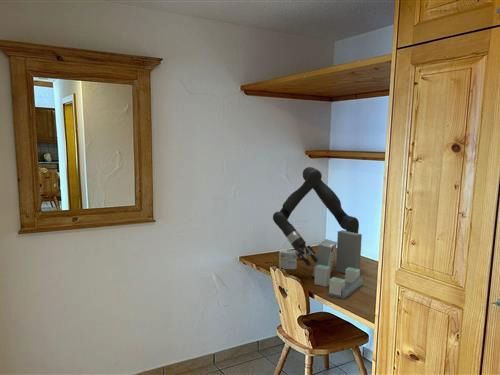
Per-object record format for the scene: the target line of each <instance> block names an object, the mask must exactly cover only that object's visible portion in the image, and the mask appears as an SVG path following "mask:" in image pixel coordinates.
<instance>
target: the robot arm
mask: <svg viewBox="0 0 500 375" xmlns="http://www.w3.org/2000/svg"><path fill="white" fill-rule="evenodd" d="M322 176H323V175H322V173H321V171H320V170H318V169H317V168H315V167H312V166H307V167H305V168H304V169H303V171H302V178H303V180H304V182H303V183H302V185H300V187H299V188H297V189H296V190H295V191H293V192H292V193H291V194H290V195H289V196H288V197H287V198H286V200H285V201H284V202H283V204H282V208H281V209H280V210H279V211H275V212H274V213H273V214H272V220H273V222H274V224H275V225H276V226H277V227H278V228H279V229H280V230H281V231H282V233H283V234H284V236H285V238H286V239H287V241H288V242H289V243H290V245H291V247H292V248H293V250H296V252H295V253H296V255H297V257H298V259H299V260H300V261H301V262H302V261H303V262H304V263H305V265H306V266H307V267H309V266H310V265H311V264H312V263H311V262H310V260H309V259H308V258H307V256H308V257H310V258H311V260H312V262H314V264H315V263H316V262H317V261H318V260H317V258H316V256H315V254H316V251H314V249H313V248H312V247H311V245H309V244H308V245H306V244H307V243H306V241H305V239H304V238H303V237H302V235H301V234H300V233H299V232H298V231H297V229H296V228H295V227H294V225H293V224H292V223H290V221H289V218H290V216H291V214H292V212H294V210H296V207H297V206H298V205H299V204H300V202H301V201H302V200H303V199H304V198H305V197H306V196H307V194H309V192H311V191H312V190H314V192H315V194H316V195H317V196H318V198H319V199H320V201H321V202H322V203H323V206H325V207H326V208H327V209H328V211H329V213H331V214H332V216H333V217H334V218H335V220H336V221H337V223H338V225H339V226H340V228H342V229H343V230H344V231H348V232H353V233H358V234H359V229H360V228H359V227H360V223H359V220H358V218H356V217H355V216H352V215H351V216H350V215H349V214H347V213H346V212H345V211H344V209H343V208H342V203H341V200H340V198H339V197H338V195H337V194H336V192H334V191H333V189H331V187H329V186H328V185H327V184H326V183H325V182H324V181H323V180H322Z"/></svg>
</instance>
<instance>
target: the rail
mask: <svg viewBox="0 0 500 375" xmlns="http://www.w3.org/2000/svg"><path fill="white" fill-rule="evenodd" d="M363 278H364V277H363V276H360V277H359V278H358V279H357V280H356V281H354V282H353V283H349V282H345V289H343V290H342V295H341V296H340V295H336V294H333V293H329V291H328V292H327V296H330V297H334V298H338V299H341V300H345V299H347V298H348V297H349V296H351V295H352V294H353V293H354V292H356V291H357V290H358V289H359V288H360V287H362V286H363V282H364V281H363V280H364V279H363Z"/></svg>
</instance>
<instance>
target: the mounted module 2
mask: <svg viewBox="0 0 500 375" xmlns="http://www.w3.org/2000/svg"><path fill="white" fill-rule="evenodd" d="M360 272H361V268H360V269H355V268H350V267H349V268H347V269H346V271H345V273H344V274H345V275H344V280H345V282H349V283H353V282H354V281H356V280H357V279H358V278H360V277H361V276H360V275H361V274H360Z"/></svg>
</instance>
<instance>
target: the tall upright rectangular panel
mask: <svg viewBox="0 0 500 375" xmlns="http://www.w3.org/2000/svg"><path fill="white" fill-rule="evenodd" d="M362 236H363V234H361V233H359V232H358V233H353V232H348V231H346V230H344V229H343V230H338V231H337V238H336V240H337V241H336V242H337V245H336V263H335V264H336V266H335V271H336V272H340V273H343V274H345V271H346V269H347V268H349V267H350V268H355V269H360V270H361V256H362V253H361V252H362ZM360 275H361V271H360Z"/></svg>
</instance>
